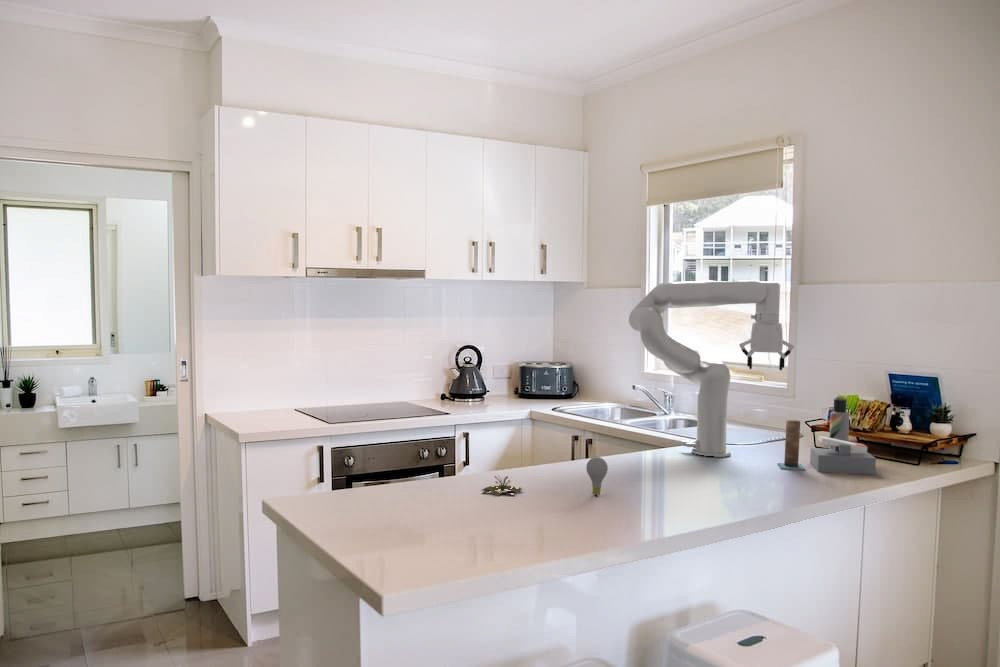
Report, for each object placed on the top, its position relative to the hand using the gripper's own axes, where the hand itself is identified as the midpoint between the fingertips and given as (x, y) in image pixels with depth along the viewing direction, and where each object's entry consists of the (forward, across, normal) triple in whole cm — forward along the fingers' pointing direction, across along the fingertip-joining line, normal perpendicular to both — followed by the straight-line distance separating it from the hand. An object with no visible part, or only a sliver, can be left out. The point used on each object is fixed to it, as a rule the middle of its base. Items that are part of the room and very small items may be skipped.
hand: (765, 369), depth 253 cm
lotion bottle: (+29, +24, +1) cm, 37 cm away
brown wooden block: (+28, +7, -20) cm, 36 cm away
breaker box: (+28, +22, -17) cm, 40 cm away
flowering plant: (+30, -68, -80) cm, 109 cm away
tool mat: (+29, +7, -21) cm, 36 cm away
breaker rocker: (+21, +22, -17) cm, 35 cm away
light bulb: (+29, -44, -76) cm, 93 cm away
